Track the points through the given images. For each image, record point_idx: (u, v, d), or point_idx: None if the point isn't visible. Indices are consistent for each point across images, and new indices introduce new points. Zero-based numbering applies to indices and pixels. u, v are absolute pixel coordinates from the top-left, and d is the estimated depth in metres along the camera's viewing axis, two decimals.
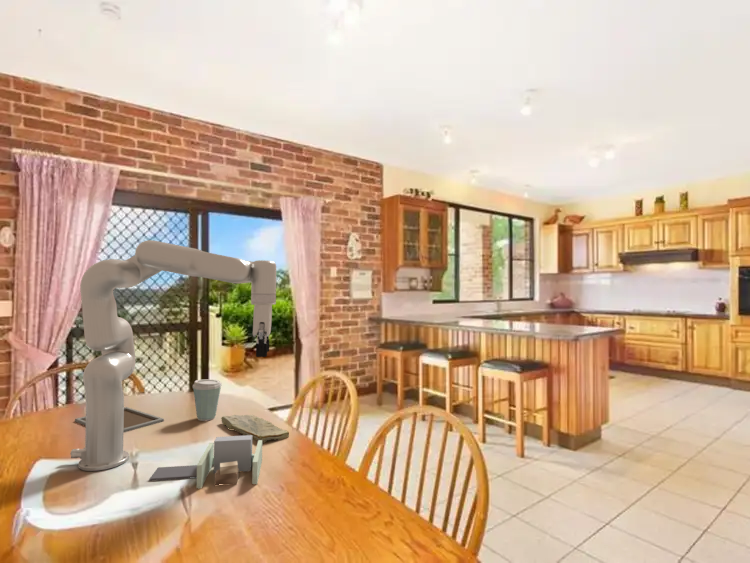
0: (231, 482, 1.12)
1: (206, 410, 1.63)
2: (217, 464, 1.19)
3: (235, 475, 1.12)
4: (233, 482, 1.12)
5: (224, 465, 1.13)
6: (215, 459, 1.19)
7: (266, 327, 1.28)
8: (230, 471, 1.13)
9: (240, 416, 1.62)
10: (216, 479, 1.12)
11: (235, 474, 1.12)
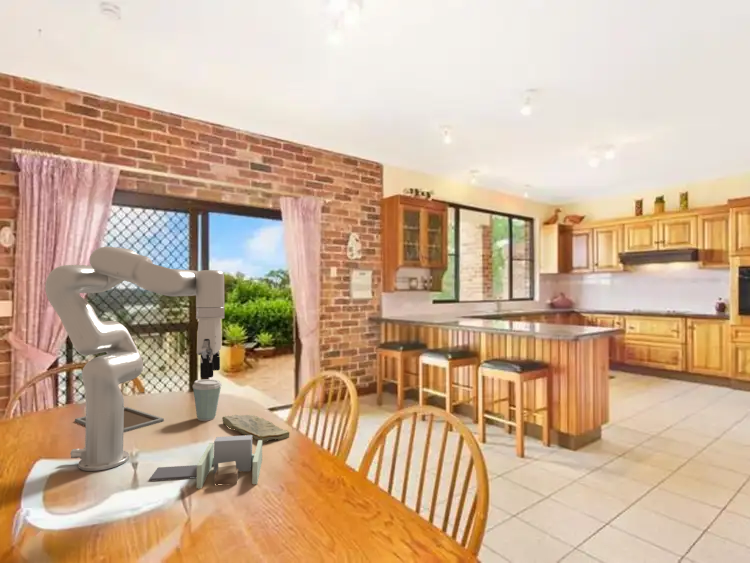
0: (231, 482, 1.12)
1: (206, 410, 1.63)
2: (217, 464, 1.19)
3: (235, 475, 1.12)
4: (233, 482, 1.12)
5: (222, 465, 1.13)
6: (215, 459, 1.19)
7: (211, 344, 1.16)
8: (228, 471, 1.13)
9: (241, 416, 1.63)
10: (216, 479, 1.12)
11: (235, 474, 1.12)
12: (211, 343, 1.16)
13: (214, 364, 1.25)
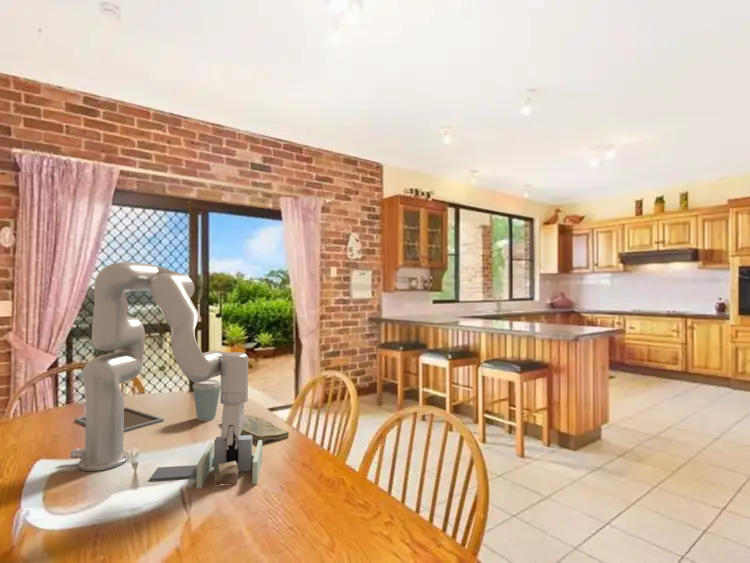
0: (231, 482, 1.12)
1: (206, 410, 1.63)
2: (217, 464, 1.19)
3: (235, 475, 1.12)
4: (233, 482, 1.12)
5: (223, 465, 1.13)
6: (215, 459, 1.19)
7: (236, 436, 1.17)
8: (230, 471, 1.13)
9: None
10: (216, 479, 1.11)
11: (235, 474, 1.12)
12: (235, 429, 1.17)
13: None
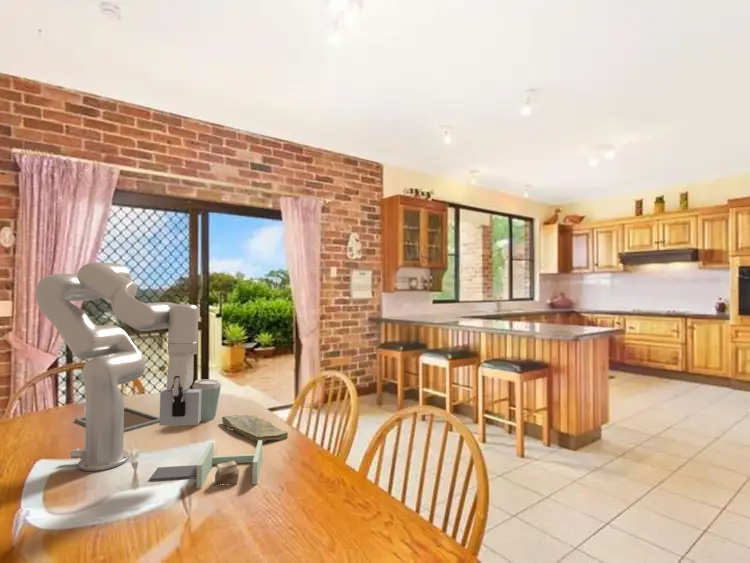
0: (231, 482, 1.12)
1: (206, 410, 1.63)
2: (163, 416, 1.16)
3: (235, 475, 1.12)
4: (233, 482, 1.12)
5: (223, 465, 1.12)
6: (161, 411, 1.16)
7: (182, 387, 1.14)
8: (229, 471, 1.13)
9: (241, 416, 1.62)
10: (216, 479, 1.11)
11: (235, 474, 1.12)
12: (181, 380, 1.14)
13: None
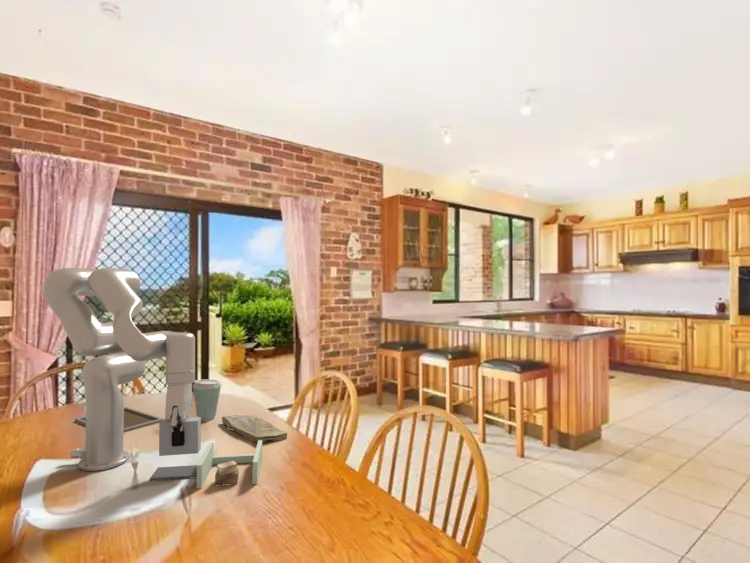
0: (231, 482, 1.12)
1: (206, 410, 1.63)
2: (162, 446, 1.16)
3: (235, 475, 1.12)
4: (233, 483, 1.12)
5: (223, 466, 1.12)
6: (160, 441, 1.16)
7: (181, 417, 1.14)
8: (230, 471, 1.13)
9: (241, 416, 1.62)
10: (216, 479, 1.11)
11: (235, 474, 1.12)
12: (180, 410, 1.14)
13: None
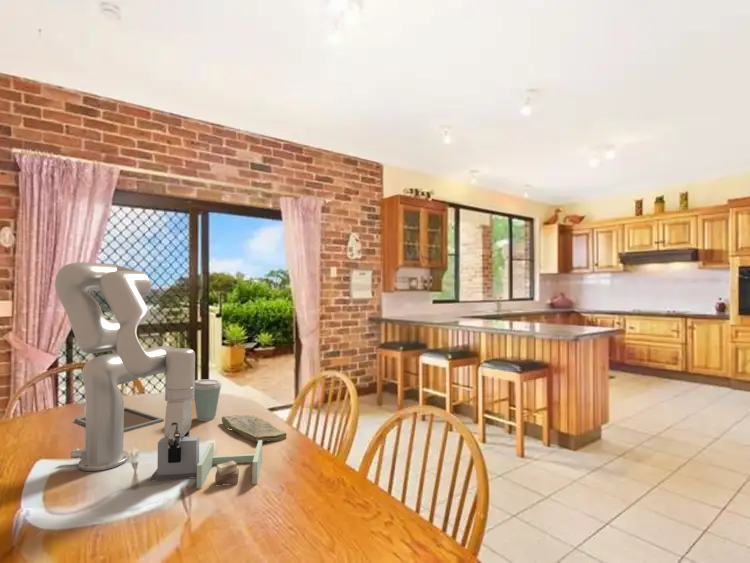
0: (232, 482, 1.12)
1: (206, 410, 1.63)
2: (161, 466, 1.16)
3: (236, 475, 1.12)
4: (233, 482, 1.12)
5: (223, 466, 1.12)
6: (159, 460, 1.16)
7: (179, 429, 1.14)
8: (230, 471, 1.13)
9: (240, 416, 1.62)
10: (216, 479, 1.11)
11: (236, 474, 1.13)
12: (179, 427, 1.14)
13: None
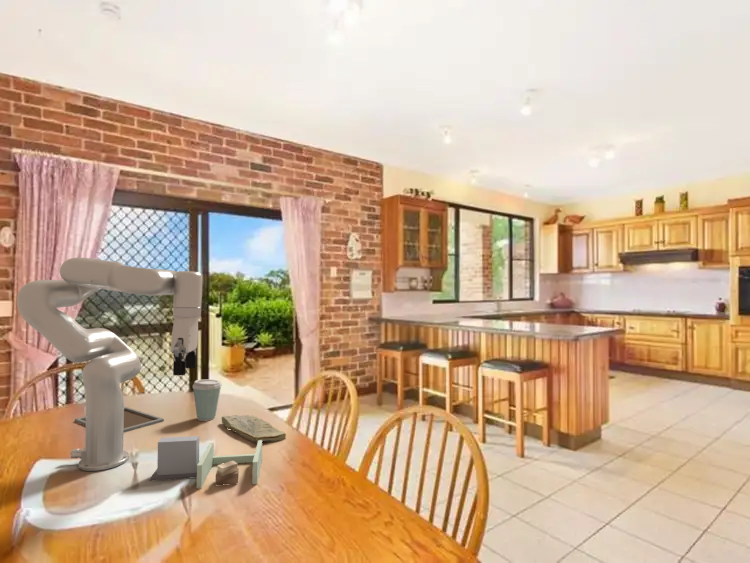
0: (232, 482, 1.12)
1: (206, 410, 1.63)
2: (161, 466, 1.16)
3: (236, 475, 1.13)
4: (234, 482, 1.12)
5: (224, 466, 1.12)
6: (159, 460, 1.16)
7: (185, 343, 1.19)
8: (231, 471, 1.13)
9: (240, 416, 1.62)
10: (217, 479, 1.11)
11: (236, 474, 1.13)
12: (185, 342, 1.19)
13: (190, 362, 1.29)
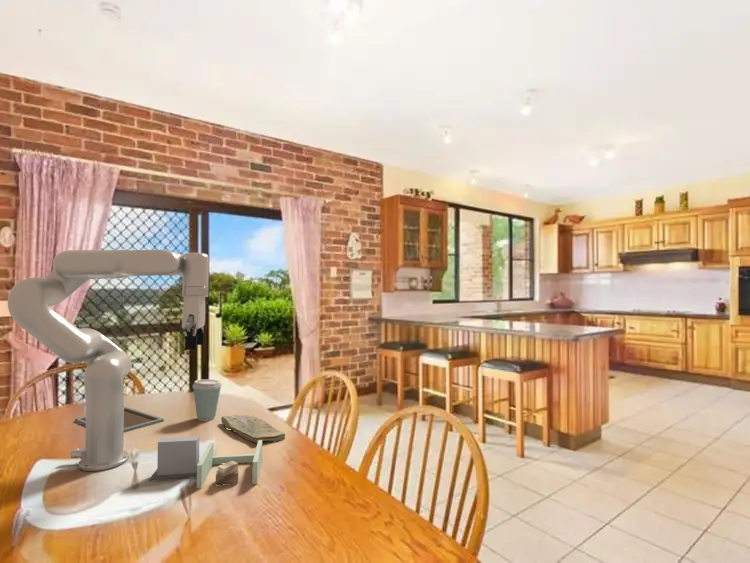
0: (232, 482, 1.12)
1: (206, 410, 1.63)
2: (161, 466, 1.16)
3: (236, 475, 1.13)
4: (234, 482, 1.13)
5: (225, 466, 1.12)
6: (159, 460, 1.16)
7: (195, 319, 1.28)
8: (232, 471, 1.13)
9: (240, 416, 1.62)
10: (217, 480, 1.11)
11: (236, 474, 1.13)
12: (195, 318, 1.28)
13: (198, 339, 1.37)
